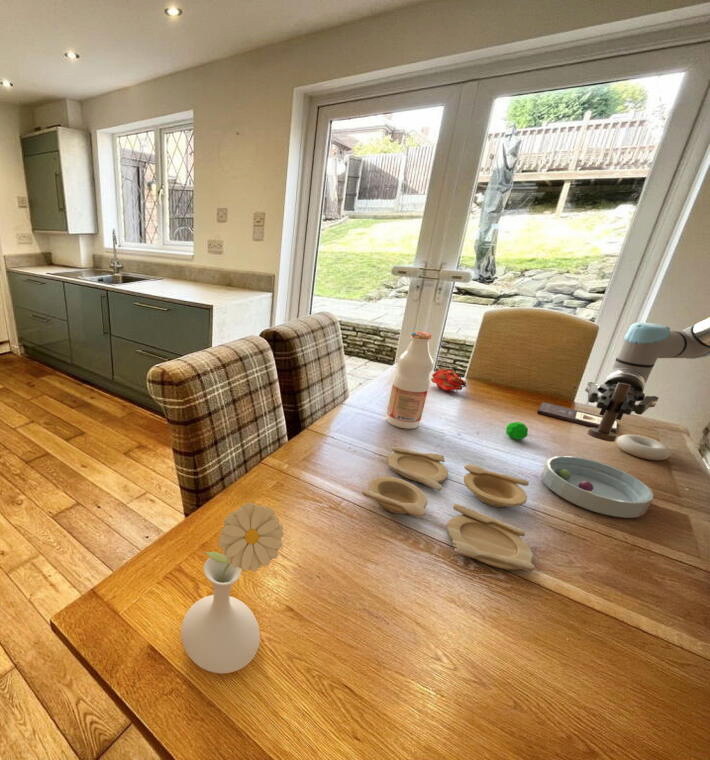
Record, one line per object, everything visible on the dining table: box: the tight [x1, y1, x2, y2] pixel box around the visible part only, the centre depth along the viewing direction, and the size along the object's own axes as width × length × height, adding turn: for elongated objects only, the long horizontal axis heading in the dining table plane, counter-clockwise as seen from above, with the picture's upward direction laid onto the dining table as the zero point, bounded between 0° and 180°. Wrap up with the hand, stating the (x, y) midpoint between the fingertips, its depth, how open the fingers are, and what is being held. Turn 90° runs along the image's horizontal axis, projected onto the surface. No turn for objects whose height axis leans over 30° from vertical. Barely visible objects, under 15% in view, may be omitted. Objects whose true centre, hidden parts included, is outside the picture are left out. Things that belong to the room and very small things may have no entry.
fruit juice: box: [385, 331, 434, 430], centre depth 115 cm, size 9×9×28 cm
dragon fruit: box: [430, 367, 467, 394], centre depth 143 cm, size 8×8×12 cm
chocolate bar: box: [537, 401, 618, 434], centre depth 123 cm, size 9×1×18 cm
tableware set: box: [361, 446, 535, 572], centre depth 85 cm, size 35×29×4 cm
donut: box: [615, 433, 672, 461], centre depth 105 cm, size 10×4×10 cm
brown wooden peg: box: [586, 383, 631, 443], centre depth 95 cm, size 5×5×14 cm
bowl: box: [541, 455, 654, 519], centre depth 88 cm, size 17×17×4 cm
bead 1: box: [557, 469, 571, 480], centre depth 92 cm, size 2×2×2 cm
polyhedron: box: [505, 421, 529, 441], centre depth 111 cm, size 5×5×5 cm
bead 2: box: [578, 481, 593, 491], centre depth 88 cm, size 2×2×2 cm
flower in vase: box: [180, 502, 285, 674], centre depth 53 cm, size 13×11×25 cm
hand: (611, 412), depth 92 cm, fingers closed on brown wooden peg, 2 cm apart
